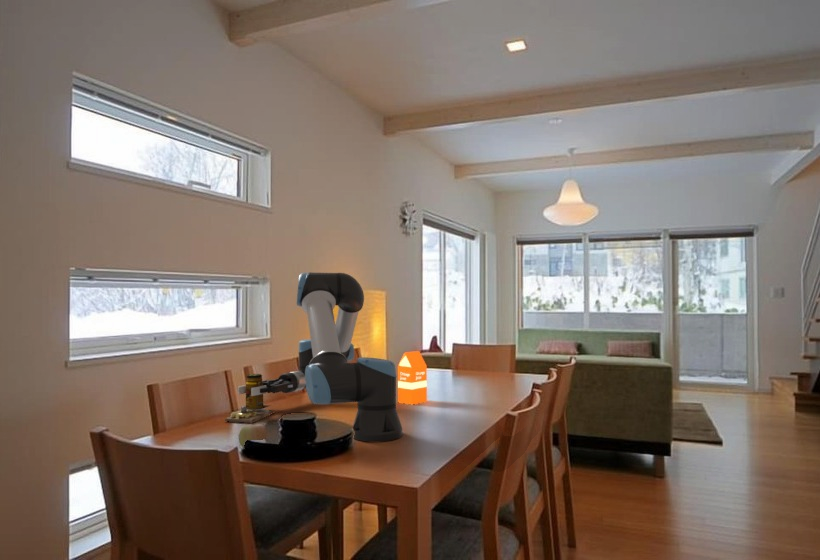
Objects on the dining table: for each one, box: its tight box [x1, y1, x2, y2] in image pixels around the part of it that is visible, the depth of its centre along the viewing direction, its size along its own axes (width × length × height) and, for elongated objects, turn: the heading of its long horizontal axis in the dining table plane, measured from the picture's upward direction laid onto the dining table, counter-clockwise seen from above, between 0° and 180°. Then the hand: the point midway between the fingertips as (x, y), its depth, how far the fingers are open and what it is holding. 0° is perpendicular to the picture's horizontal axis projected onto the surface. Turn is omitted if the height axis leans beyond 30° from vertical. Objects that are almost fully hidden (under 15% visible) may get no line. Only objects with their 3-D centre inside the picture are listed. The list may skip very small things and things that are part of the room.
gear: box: [230, 405, 257, 419], centre depth 188 cm, size 9×9×3 cm
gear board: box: [224, 408, 275, 424], centre depth 191 cm, size 16×10×1 cm, turn 167°
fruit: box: [238, 420, 268, 449], centre depth 152 cm, size 8×7×8 cm
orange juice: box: [397, 350, 428, 406], centre depth 216 cm, size 8×9×20 cm
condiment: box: [245, 373, 272, 410], centre depth 195 cm, size 7×8×12 cm
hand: (245, 391), depth 191 cm, fingers closed on condiment, 6 cm apart
